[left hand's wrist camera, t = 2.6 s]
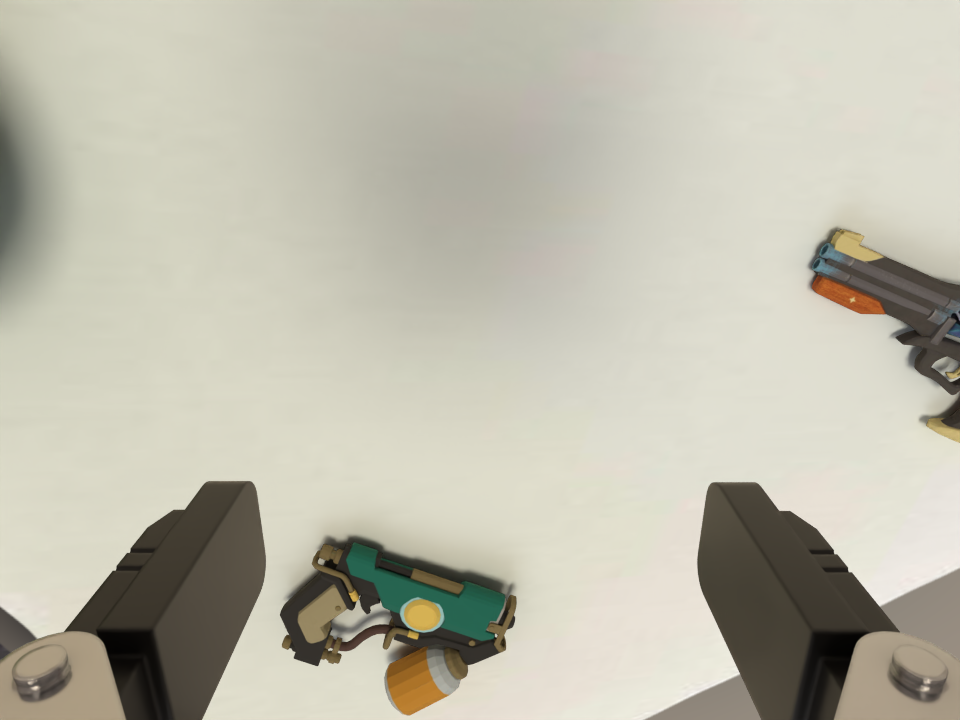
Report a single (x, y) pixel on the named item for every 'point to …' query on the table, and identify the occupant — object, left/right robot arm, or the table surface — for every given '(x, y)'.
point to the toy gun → (896, 306)
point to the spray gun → (399, 621)
